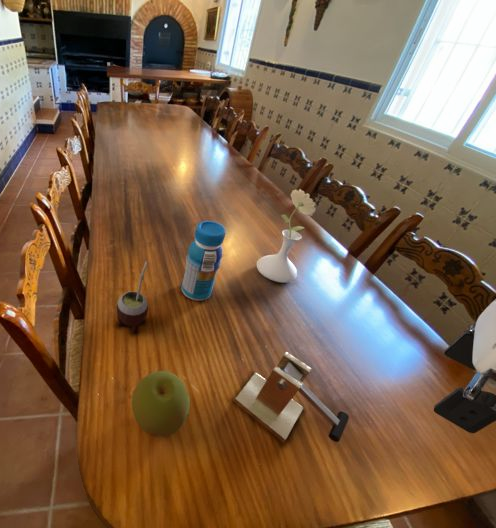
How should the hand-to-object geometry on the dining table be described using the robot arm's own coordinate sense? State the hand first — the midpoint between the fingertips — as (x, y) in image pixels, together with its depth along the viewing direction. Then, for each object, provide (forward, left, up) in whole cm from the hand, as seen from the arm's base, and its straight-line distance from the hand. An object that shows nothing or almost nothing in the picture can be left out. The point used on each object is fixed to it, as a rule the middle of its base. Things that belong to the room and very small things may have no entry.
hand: (456, 388), depth 32 cm
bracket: (+11, -8, -26) cm, 30 cm away
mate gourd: (+41, -21, -27) cm, 53 cm away
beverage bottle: (+27, -36, -27) cm, 52 cm away
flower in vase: (+5, -51, -27) cm, 58 cm away
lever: (+8, -6, -18) cm, 20 cm away
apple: (+31, -1, -27) cm, 41 cm away
